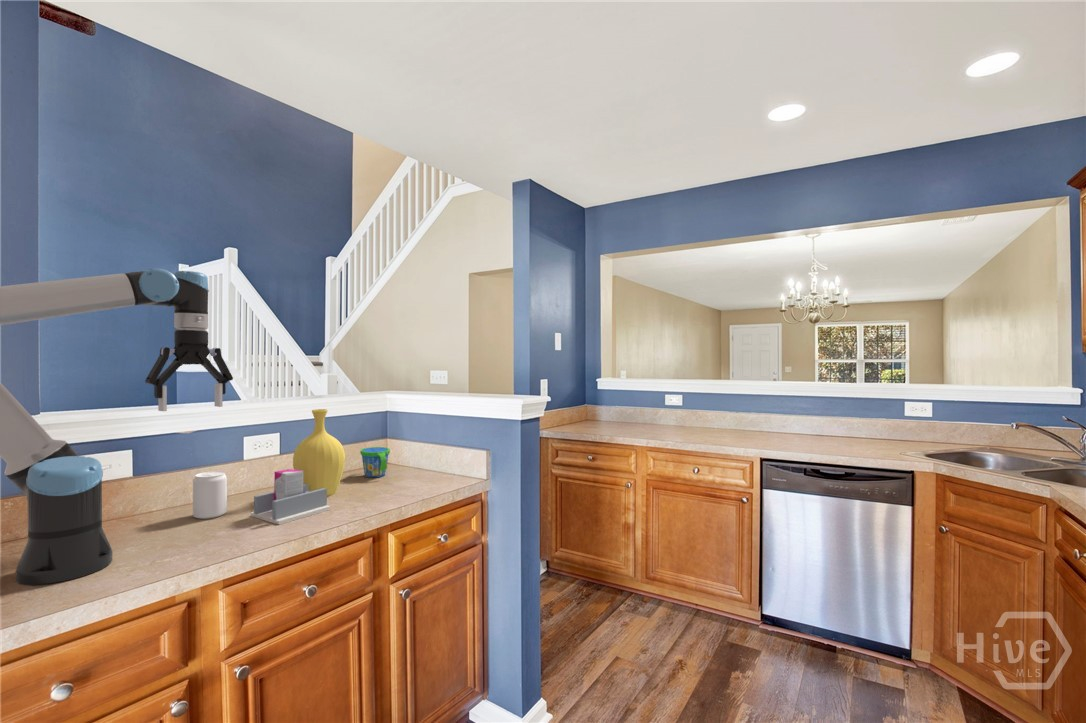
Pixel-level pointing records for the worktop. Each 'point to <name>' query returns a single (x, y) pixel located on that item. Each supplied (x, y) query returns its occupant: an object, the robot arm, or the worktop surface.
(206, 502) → the beverage can
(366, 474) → the snack cup
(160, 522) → the worktop surface
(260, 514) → the slot cradle
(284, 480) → the supplement box
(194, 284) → the robot arm
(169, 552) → the worktop surface
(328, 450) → the vase
